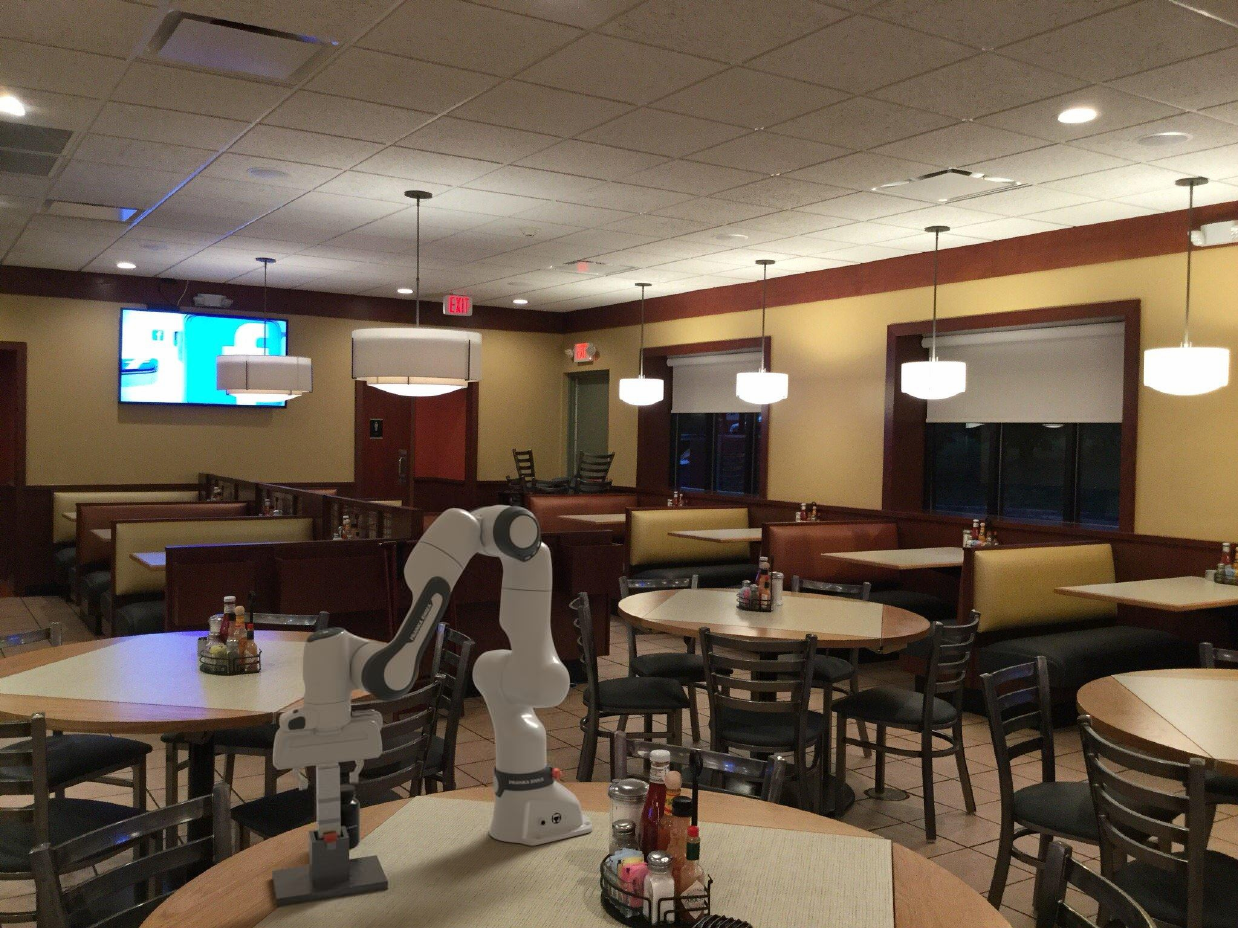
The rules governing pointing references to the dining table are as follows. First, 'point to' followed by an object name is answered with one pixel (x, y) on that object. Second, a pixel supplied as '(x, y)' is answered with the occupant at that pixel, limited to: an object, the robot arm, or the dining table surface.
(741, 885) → the dining table surface
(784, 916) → the dining table surface
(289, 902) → the stand
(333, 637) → the robot arm
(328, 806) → the column
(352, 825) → the supplement bottle
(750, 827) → the dining table surface
